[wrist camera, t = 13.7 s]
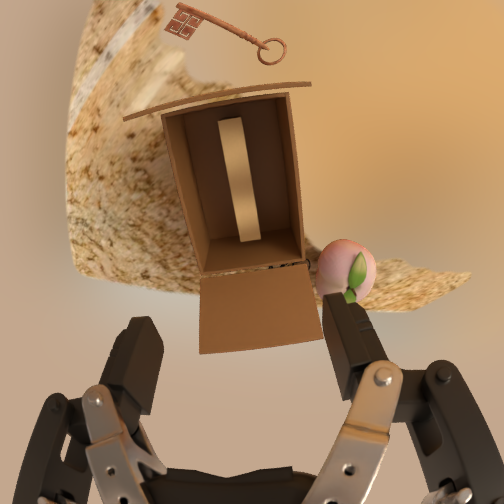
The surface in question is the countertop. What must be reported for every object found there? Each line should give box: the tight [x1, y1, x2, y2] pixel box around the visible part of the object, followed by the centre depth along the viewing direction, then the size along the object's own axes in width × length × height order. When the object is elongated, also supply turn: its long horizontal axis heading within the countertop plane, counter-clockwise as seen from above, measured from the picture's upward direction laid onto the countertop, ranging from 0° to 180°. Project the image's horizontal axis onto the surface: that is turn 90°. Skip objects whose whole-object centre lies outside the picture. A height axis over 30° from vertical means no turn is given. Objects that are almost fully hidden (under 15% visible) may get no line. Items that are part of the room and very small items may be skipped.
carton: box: [123, 82, 312, 276], centre depth 26 cm, size 19×12×17 cm, turn 9°
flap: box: [199, 264, 324, 354], centre depth 27 cm, size 9×12×1 cm
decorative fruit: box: [316, 239, 376, 304], centre depth 35 cm, size 9×8×10 cm
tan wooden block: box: [218, 116, 261, 242], centre depth 31 cm, size 14×2×5 cm, turn 9°
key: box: [164, 2, 287, 65], centre depth 24 cm, size 6×1×15 cm
